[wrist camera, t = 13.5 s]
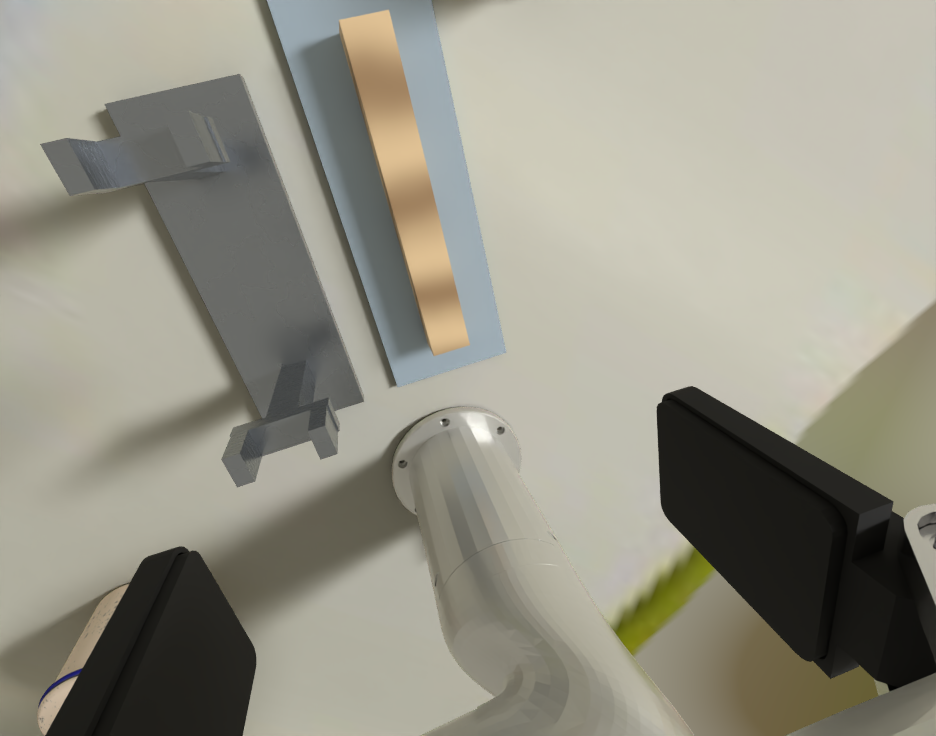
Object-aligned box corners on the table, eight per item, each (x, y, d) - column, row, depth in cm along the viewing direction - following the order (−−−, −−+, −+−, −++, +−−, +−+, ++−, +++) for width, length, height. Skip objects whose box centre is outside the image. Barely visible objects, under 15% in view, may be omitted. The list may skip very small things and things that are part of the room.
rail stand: (363, 395, 40) (371, 486, 29) (270, 424, 39) (240, 532, 28) (243, 77, 30) (179, 18, 18) (113, 106, 29) (-42, 63, 17)
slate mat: (504, 350, 42) (506, 352, 41) (396, 384, 41) (397, 387, 40) (420, -41, 30) (422, -45, 29) (264, -9, 28) (262, -12, 28)
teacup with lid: (167, 659, 46) (116, 803, 35) (70, 627, 42) (-19, 778, 32) (245, 579, 45) (215, 705, 34) (153, 538, 41) (87, 666, 30)
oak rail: (461, 333, 40) (470, 345, 37) (427, 343, 39) (433, 356, 36) (384, 23, 30) (388, 9, 27) (339, 33, 30) (338, 20, 27)
